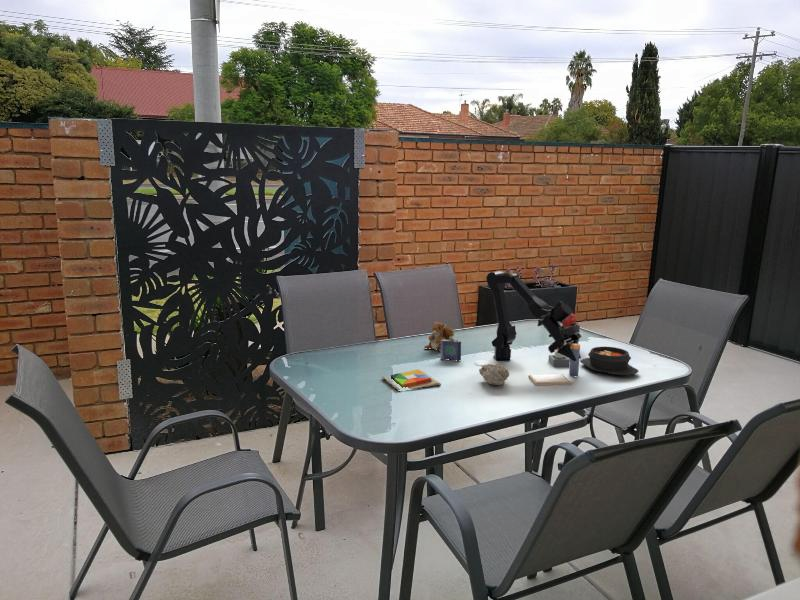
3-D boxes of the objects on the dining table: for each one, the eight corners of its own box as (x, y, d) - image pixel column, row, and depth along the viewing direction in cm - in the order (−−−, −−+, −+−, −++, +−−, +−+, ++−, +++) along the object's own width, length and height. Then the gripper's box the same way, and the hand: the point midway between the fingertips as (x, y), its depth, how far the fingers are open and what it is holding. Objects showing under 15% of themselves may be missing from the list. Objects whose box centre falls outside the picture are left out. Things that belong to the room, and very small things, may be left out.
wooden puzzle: (380, 379, 241) (380, 371, 240) (423, 374, 248) (423, 366, 248) (397, 393, 225) (397, 384, 225) (442, 387, 232) (442, 378, 232)
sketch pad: (535, 385, 233) (535, 382, 232) (528, 377, 242) (528, 374, 242) (570, 384, 233) (570, 381, 233) (562, 376, 243) (562, 373, 243)
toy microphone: (570, 377, 242) (572, 346, 240) (567, 374, 246) (569, 343, 244) (579, 376, 243) (581, 345, 240) (576, 373, 246) (578, 343, 244)
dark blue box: (439, 359, 266) (440, 336, 264) (441, 358, 269) (441, 334, 267) (460, 361, 263) (460, 338, 261) (461, 360, 266) (462, 336, 264)
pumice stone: (509, 391, 226) (510, 371, 224) (477, 389, 228) (478, 369, 226) (508, 379, 239) (509, 360, 238) (478, 378, 241) (479, 359, 240)
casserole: (648, 374, 246) (649, 354, 244) (618, 382, 236) (620, 362, 235) (599, 359, 267) (600, 341, 265) (570, 366, 257) (571, 347, 255)
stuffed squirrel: (422, 349, 283) (422, 322, 280) (440, 343, 293) (440, 317, 290) (439, 353, 276) (439, 325, 274) (457, 347, 287) (457, 320, 284)
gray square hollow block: (553, 366, 256) (553, 359, 256) (548, 361, 263) (548, 355, 263) (569, 366, 257) (569, 359, 256) (563, 361, 264) (564, 354, 263)
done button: (555, 361, 258) (556, 353, 257) (552, 359, 262) (553, 350, 261) (564, 361, 258) (565, 352, 257) (561, 359, 262) (562, 350, 261)
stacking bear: (557, 346, 288) (559, 310, 285) (579, 348, 284) (581, 311, 281) (555, 352, 278) (556, 314, 275) (577, 354, 275) (579, 316, 271)
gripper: (556, 321, 236) (581, 353, 231) (578, 313, 249) (602, 343, 244) (538, 337, 242) (561, 368, 237) (560, 328, 256) (582, 358, 251)
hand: (577, 359), depth 242 cm, fingers closed on toy microphone, 4 cm apart
